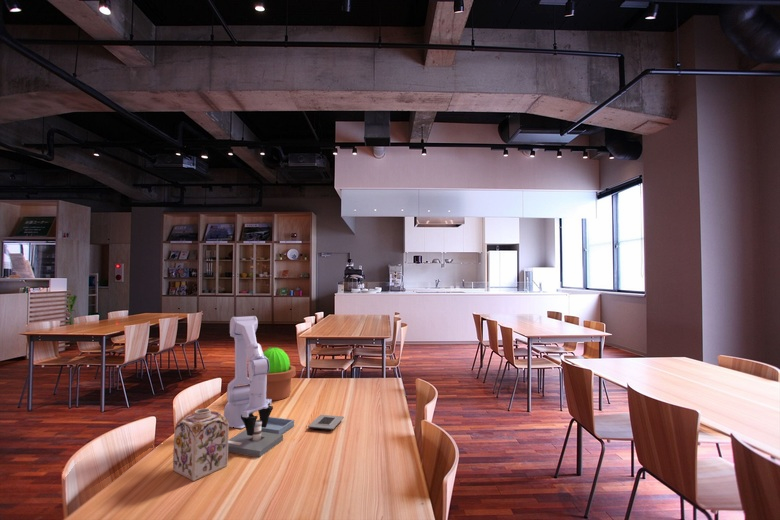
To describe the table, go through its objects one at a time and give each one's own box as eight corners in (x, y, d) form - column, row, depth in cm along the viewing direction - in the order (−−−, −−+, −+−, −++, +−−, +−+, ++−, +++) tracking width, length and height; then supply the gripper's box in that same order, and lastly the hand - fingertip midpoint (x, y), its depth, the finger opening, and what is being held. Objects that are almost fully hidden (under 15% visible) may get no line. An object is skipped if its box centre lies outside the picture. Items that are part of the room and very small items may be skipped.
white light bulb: (249, 445, 135) (250, 422, 135) (255, 442, 138) (256, 419, 138) (257, 447, 134) (258, 424, 134) (263, 443, 137) (263, 420, 137)
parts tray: (247, 432, 146) (247, 425, 146) (264, 422, 157) (264, 416, 157) (278, 437, 142) (278, 430, 143) (294, 426, 153) (294, 420, 153)
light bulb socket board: (219, 450, 131) (220, 444, 131) (246, 434, 144) (246, 428, 144) (259, 457, 126) (259, 450, 126) (282, 440, 140) (283, 434, 140)
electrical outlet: (333, 434, 147) (333, 427, 147) (307, 431, 149) (307, 425, 149) (343, 421, 160) (343, 415, 160) (320, 419, 162) (320, 413, 162)
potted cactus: (288, 403, 181) (289, 350, 182) (242, 402, 182) (244, 350, 183) (299, 389, 203) (300, 343, 204) (259, 389, 203) (260, 342, 205)
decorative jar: (192, 482, 110) (195, 419, 111) (171, 471, 116) (173, 412, 117) (229, 465, 120) (231, 408, 121) (207, 456, 127) (209, 401, 127)
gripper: (255, 399, 129) (253, 440, 128) (278, 388, 143) (278, 424, 142) (237, 397, 131) (236, 437, 130) (262, 386, 145) (261, 422, 144)
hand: (257, 431), depth 136 cm, fingers open, 7 cm apart
